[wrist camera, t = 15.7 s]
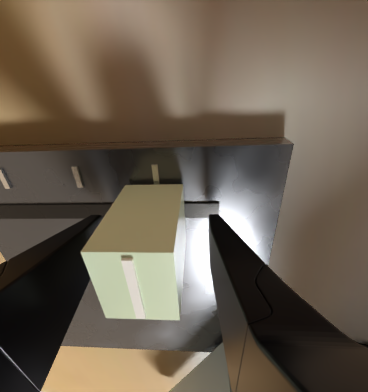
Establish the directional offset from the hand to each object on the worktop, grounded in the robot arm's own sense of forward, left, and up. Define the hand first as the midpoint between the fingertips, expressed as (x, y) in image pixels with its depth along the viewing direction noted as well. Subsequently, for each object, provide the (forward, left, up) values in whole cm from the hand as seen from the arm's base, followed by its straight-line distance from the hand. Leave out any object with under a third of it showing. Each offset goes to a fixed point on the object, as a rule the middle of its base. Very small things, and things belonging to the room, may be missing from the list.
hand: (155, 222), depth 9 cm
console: (+2, +5, -2) cm, 6 cm away
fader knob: (0, 0, -1) cm, 1 cm away
